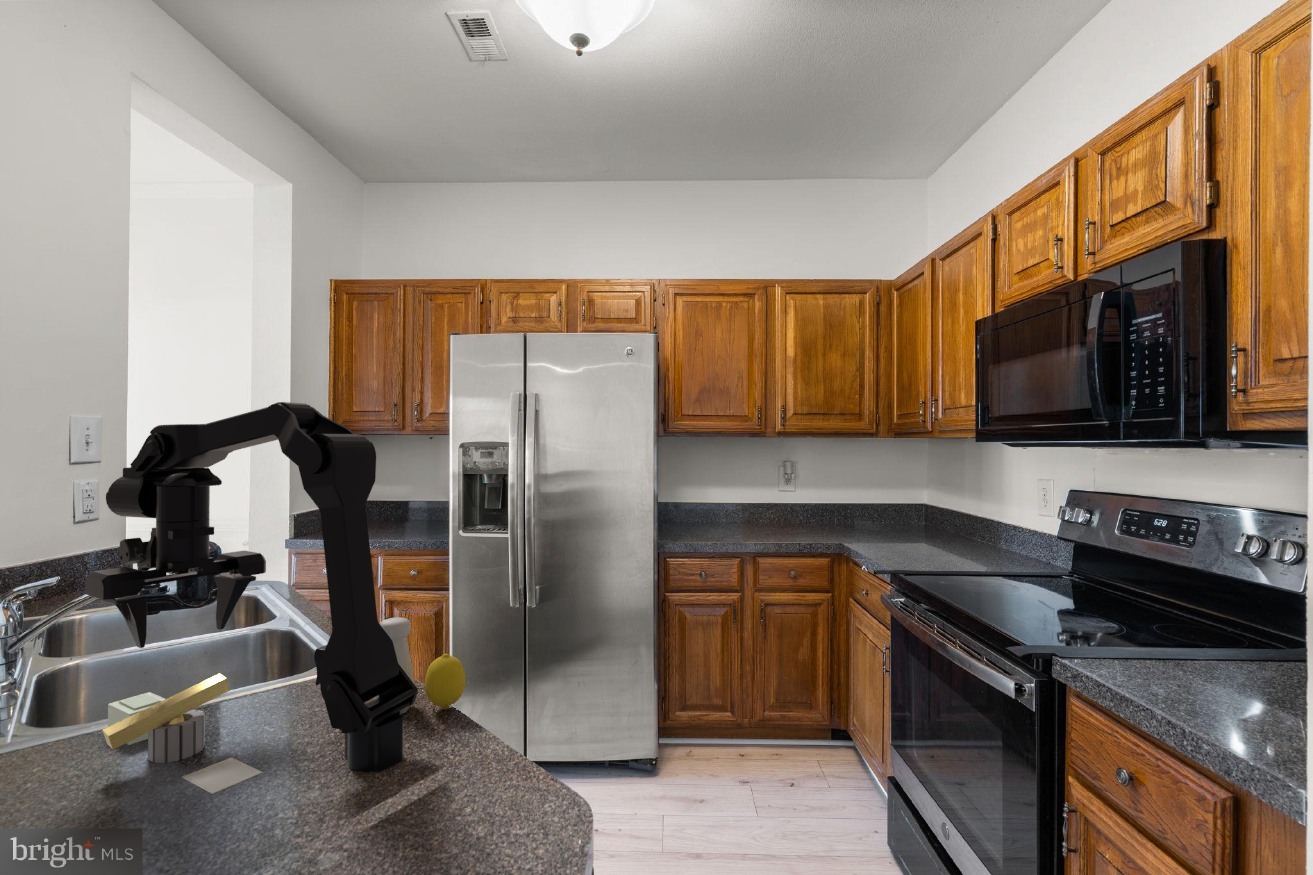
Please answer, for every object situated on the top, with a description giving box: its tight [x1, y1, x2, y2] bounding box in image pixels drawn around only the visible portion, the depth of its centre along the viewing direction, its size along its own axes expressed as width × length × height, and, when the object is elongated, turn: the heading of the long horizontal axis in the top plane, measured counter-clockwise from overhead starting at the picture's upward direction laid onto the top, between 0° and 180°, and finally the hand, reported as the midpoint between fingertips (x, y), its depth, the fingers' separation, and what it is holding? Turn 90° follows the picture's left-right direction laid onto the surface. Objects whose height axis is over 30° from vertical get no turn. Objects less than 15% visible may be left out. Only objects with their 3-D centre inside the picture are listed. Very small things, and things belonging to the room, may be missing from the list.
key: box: [102, 673, 230, 750], centre depth 78 cm, size 12×2×6 cm, turn 144°
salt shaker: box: [371, 616, 416, 715], centre depth 93 cm, size 6×6×13 cm
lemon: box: [424, 653, 466, 711], centre depth 93 cm, size 6×6×8 cm
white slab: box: [147, 709, 263, 795], centre depth 75 cm, size 17×10×5 cm, turn 60°
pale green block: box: [107, 691, 166, 746], centre depth 83 cm, size 6×4×5 cm
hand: (182, 637), depth 86 cm, fingers open, 9 cm apart
